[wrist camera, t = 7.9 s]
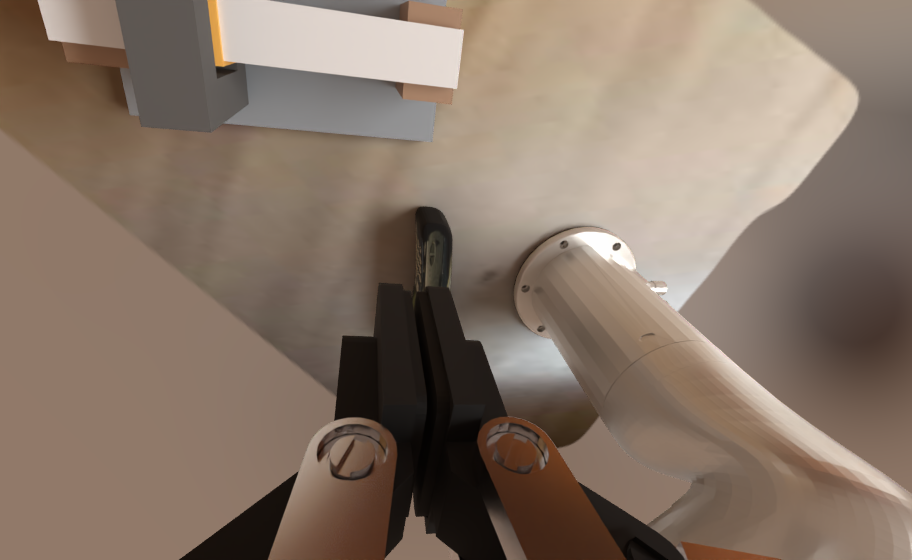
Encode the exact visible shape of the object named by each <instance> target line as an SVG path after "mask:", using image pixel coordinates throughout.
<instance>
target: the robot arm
mask: <svg viewBox="0 0 912 560" xmlns="http://www.w3.org/2000/svg"><path fill="white" fill-rule="evenodd" d="M666 291H667V285H666V283H665V282H663V281H650V282H648V281H647V280H646V279H644V278H643V277H642V276H641V275H640V274H639V273H638V272H636V263H635V258H634V256H633V253H632V251H631V249H630V248H629V247H628V246H627V244H626V243H625V242H624V241H623V240H622V239H620V238H619V237H618V236H617V235H615V234H613V233H611V232H610V231H608V230H604V229H601V228H597V227H581V228H574V229H570V230H567V231H564V232H561V233H559V234H557V235H555V236H553V237H551V238H549V239H548V240H547V241H545V242H544V243H542V244H541V245H540V246H538V247H537V248H536V249H535V250H534V252H533V253H532V254H531V255H530V256H529V257H528V258H527V260H526V261H525V263H524V264H523V265H522V267H521V269H520V271H519V274H518V276H517V279H516V283H515V286H514V302H515V307H516V310H517V312H518V314H519V316H520V318H521V319H522V321H523V323H524V324H525V325H526V326H527V327H528V328H529V329H530V330H531V331H532V332H534V333H535V334H537V335H540V336H542V337H545V338H549V339H552V340H553V342H554V344H555V345H556V347H557V348H558V350H559V352H560V353H561V355H562V356H563V358H564V360H565V361H566V363H567V364H568V366H569V368H570V369H571V371H572V372H573V374H574V376H575V377H576V379H577V381H578V382H579V384H580V385H581V387H582V389H583V390H584V392H585V393H586V395H587V397H588V398H589V400H590V401H591V403H592V405H593V406H594V408H595V409H596V411H597V413H598V414H599V416H600V417H601V419H602V421H603V422H604V424H605V425H606V427H607V428H608V430H609V432H610V433H611V435H612V436H613V438H614V439H615V441H616V442H617V443H618V445H619V446H620V447H621V448H622V449H623V450H624V451H625V452H626V454H628V455H629V456H630V457H631V458H633V459H634V460H635V461H637V462H638V463H640V464H642V465H643V466H645V467H647V468H649V469H651V470H654V471H656V472H659V473H661V474H664V475H667V476H670V477H673V478H677V479H680V480H684V481H687V482H690V483H692V484H691V487H690V489H689V490H688V491H687V492H686V493H685V494H684V495H683V496H682V497H681V498H680V499H678V500H677V501H676V502H675V503H673V504H672V506H671V507H670V508H669V509H668V510H666V511H665V512H664V513H662V514H661V515H659V516H658V517H657V518H655V519H654V520H653V521H651V522H650V523H649V524H647V525H645V524H644V523H642V522H641V521H639V520H637V519H636V518H634V517H633V516H631V515H630V514H628V513H627V512H625V511H623V510H622V509H620V508H619V507H617V506H615V505H614V504H612V503H611V502H609V501H608V500H606V499H604V498H603V497H601V496H600V495H598V494H597V493H595V492H593V491H592V490H590V489H589V488H587V487H585V486H584V485H582V484H581V483H579V482H578V481H577V480H576V478H575V477H574V475H573V474H572V472H571V470H570V469H569V467H568V466H567V464H566V462H565V461H564V459H563V458H562V456H561V455H560V453H559V451H558V450H557V448H556V446H555V445H554V443H553V442H552V440H551V439H550V438H549V437H548V435H547V434H546V433H545V432H544V431H543V430H541V429H540V428H539V427H537V426H536V425H535V424H532V423H530V422H528V421H526V420H524V419H520V418H515V417H508V416H507V413H506V410H505V407H504V405H503V402H502V399H501V396H500V394H499V391H498V388H497V385H496V382H495V380H494V377H493V374H492V371H491V369H490V366H489V363H488V360H487V357H486V355H485V352H484V349H483V346H482V344H481V342H480V341H475V340H465V337H464V334H463V331H462V327H461V324H460V321H459V318H458V315H457V311H456V308H455V305H454V302H453V298H452V295H451V292H450V289H449V287H435V286H426V287H425V290H424V292H422V291H417V293H416V298H415V305H414V309H413V302H412V296H411V291H405V290H403V286H402V284H388V283H379V286H378V296H377V306H376V317H375V327H374V337H363V336H343V338H342V348H341V358H340V368H339V378H338V389H337V399H336V410H335V419H334V421H333V422H332V423H329V424H328V425H326V426H324V427H322V428H321V429H320V430H319V431H318V432H317V433H316V434H315V435H314V436H313V438H312V439H311V441H310V443H309V445H308V447H307V450H306V453H305V455H304V458H303V461H302V464H301V467H300V470H299V471H298V472H297V473H296V474H294V475H293V476H292V477H290V478H289V479H288V480H286V481H285V482H283V483H282V484H281V485H279V486H278V487H277V488H275V489H274V490H273V491H271V492H270V493H269V494H267V495H266V496H265V497H263V498H262V499H261V500H259V501H258V502H257V503H255V504H254V505H253V506H251V507H250V508H248V509H247V510H246V511H244V512H243V513H242V514H240V515H239V516H238V517H236V518H235V519H233V520H232V521H231V522H229V523H228V524H227V525H225V526H224V527H223V528H221V529H220V530H219V531H217V532H216V533H215V534H213V535H212V536H211V537H209V538H208V539H206V540H205V541H204V542H202V543H201V544H200V545H199V546H197V547H196V548H194V549H193V550H192V551H190V552H189V553H188V554H186V555H185V556H184V557H182V558H181V559H179V560H384V559H385V558H386V556H387V555H388V554H389V553H390V552H391V550H392V549H394V547H395V546H396V545H397V544H398V543H399V542H400V541H401V539H402V537H403V531H404V526H405V520H406V517H408V515H409V510H410V504H411V499H412V493H413V498H414V509H415V515H416V517H419V516H424V517H425V526H426V534H432V533H436V537H437V538H439V539H440V540H441V541H442V542H444V543H445V544H446V545H447V546H448V547H449V557H450V560H912V494H911V493H909V492H908V491H907V490H905V489H904V488H903V487H901V486H900V485H899V484H897V483H896V482H895V481H893V480H892V479H891V478H889V477H888V476H886V475H885V474H884V473H882V472H881V471H879V470H878V469H876V468H875V467H873V466H872V465H870V464H869V463H867V462H866V461H864V460H863V459H861V458H860V457H858V456H857V455H856V454H854V453H853V452H851V451H850V450H848V449H847V448H845V447H844V446H842V445H841V444H839V443H838V442H836V441H835V440H833V439H832V438H830V437H829V436H828V435H826V434H825V433H823V432H822V431H820V430H819V429H817V428H816V427H814V426H813V425H811V424H810V423H809V422H807V421H806V420H805V419H803V418H802V417H801V416H799V415H798V414H797V413H795V412H794V411H793V410H791V409H790V408H788V407H787V406H786V405H784V404H783V403H782V402H780V401H779V400H778V399H777V398H776V397H774V396H773V395H772V394H771V393H770V392H768V391H767V390H766V389H765V388H764V387H762V386H761V385H760V384H759V383H757V382H756V381H755V380H754V379H753V378H752V377H750V376H749V375H748V374H747V373H746V372H744V371H743V370H742V369H741V368H740V367H739V366H738V365H736V364H735V363H734V362H733V361H732V360H731V359H730V358H728V357H727V356H726V355H725V354H724V353H723V352H722V351H720V350H719V349H718V348H717V347H716V346H714V345H713V344H712V343H711V342H710V341H709V340H708V339H707V338H706V337H705V336H703V335H702V334H701V333H700V332H699V331H698V330H697V329H696V328H695V327H693V326H692V325H691V324H690V323H689V322H688V321H686V319H684V318H683V317H682V316H681V315H680V314H679V313H678V312H677V311H676V310H674V309H673V308H672V307H671V306H670V305H669V304H668V302H667V301H665V300H663V299H662V298H661V297H660V296H659V295H664V294H665V293H666Z"/></svg>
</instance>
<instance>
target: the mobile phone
mask: <svg viewBox="0 0 912 560" xmlns="http://www.w3.org/2000/svg"><path fill="white" fill-rule="evenodd" d="M451 271H452V234H451V230H450V227H449V225H448V222H447V220H446V218H445V216H444V215H443V213H442V212H441V211H440V210H438V209H436V208H432V207H420V208H418V209H417V212H416V272H415V283H414V289H413V295H412V302H413V309H414V305H415V298H416V293H417V291H422V292H424V290H425V287H426V286H435V287H449V289H450V284H451ZM450 292H451V291H450Z"/></svg>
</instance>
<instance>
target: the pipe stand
mask: <svg viewBox="0 0 912 560" xmlns="http://www.w3.org/2000/svg"><path fill="white" fill-rule="evenodd" d="M207 1H208V9H209V17H210V25H211V34H212V42H213V50H214V58H215V66H221V67H224V66H227V65H230V64H233V63H245V68H246V79H247V90H248V101H249V104H248V105H247V106H246V107H244V108H243V109H242V110H240V111H239V112H238V113H236V114H235V115H234V116H232V117H231V118H230V119H228V120H227V121H226V122H224V123H225V124H236V125H247V126H258V127H270V128H281V129H292V130H303V131H314V132H325V133H337V134H348V135H359V136H370V137H381V138H392V139H404V140H415V141H426V142H432V141H433V131H434V121H435V111H436V103H443V104H452V96H453V89H457V84H458V75H459V67H460V59H461V50H462V42H463V34H464V30H460V27H461V19H462V10H463V9H457V8H451V7H446V1H447V0H207ZM38 3H39V7H40V10H41V14H42V17H43V21H44V25H45V28H46V32H47V35H48V39H49V40H53V41H61V42H62V46H63V49H64V53H65V57H66V61H67V62H74V63H83V64H92V65H101V66H110V67H119V68H120V72H121V77H122V81H123V86H124V90H125V95H126V99H127V104H128V109H129V113H130V115H136V116H139V113H138V108H137V103H136V99H135V94H134V89H133V84H132V79H131V75H130V70H129V65H128V60H127V55H126V51H125V46H124V41H123V36H122V32H121V27H120V22H119V17H118V12H117V8H116V3H115V0H38Z"/></svg>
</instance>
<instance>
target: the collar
mask: <svg viewBox="0 0 912 560" xmlns="http://www.w3.org/2000/svg"><path fill="white" fill-rule="evenodd" d="M115 3H116V8H117V12H118V17H119V22H120V27H121V32H122V36H123V41H124V46H125V51H126V55H127V60H128V65H129V70H130V75H131V79H132V84H133V89H134V94H135V99H136V103H137V108H138V113H139V118H140V122H141V127H151V128H163V129H175V130H186V131H198V132H210V133H211V132H213V131H214V130H215V129H216V128H218V127H219V126H220V125H222V124H223V123H224V122H226V121H227V120H228V119H230V118H231V117H232V116H234V115H235V114H236V113H238V112H239V111H240V110H242V109H243V108H244V107H246V106H247V105H248V104H249V101H248V90H247V79H246V68H245V63H233V64H230V65H227V66H224V67H221V66H215V58H214V50H213V42H212V34H211V25H210V17H209V9H208V1H207V0H115Z"/></svg>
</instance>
